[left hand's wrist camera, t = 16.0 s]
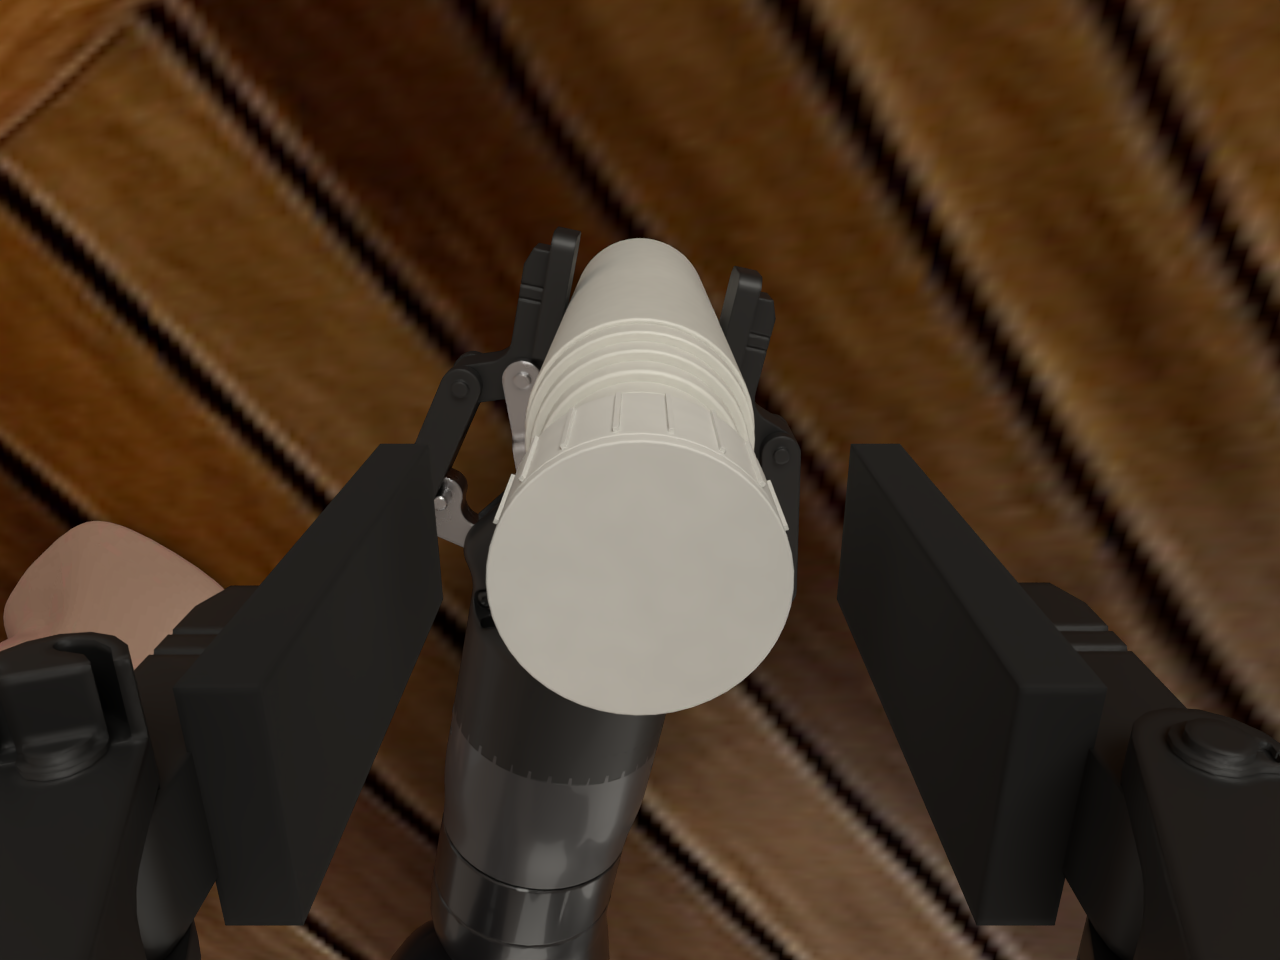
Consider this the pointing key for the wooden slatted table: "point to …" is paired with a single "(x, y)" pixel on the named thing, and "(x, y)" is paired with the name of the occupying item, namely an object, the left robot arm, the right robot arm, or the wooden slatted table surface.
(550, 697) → the right robot arm
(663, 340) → the bottle
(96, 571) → the anatomical model
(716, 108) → the wooden slatted table surface
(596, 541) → the cap
